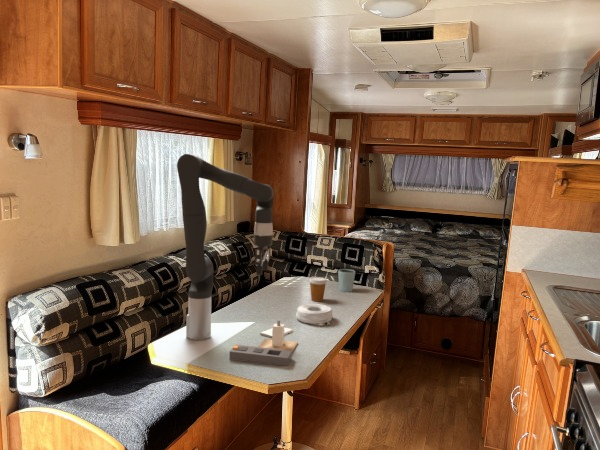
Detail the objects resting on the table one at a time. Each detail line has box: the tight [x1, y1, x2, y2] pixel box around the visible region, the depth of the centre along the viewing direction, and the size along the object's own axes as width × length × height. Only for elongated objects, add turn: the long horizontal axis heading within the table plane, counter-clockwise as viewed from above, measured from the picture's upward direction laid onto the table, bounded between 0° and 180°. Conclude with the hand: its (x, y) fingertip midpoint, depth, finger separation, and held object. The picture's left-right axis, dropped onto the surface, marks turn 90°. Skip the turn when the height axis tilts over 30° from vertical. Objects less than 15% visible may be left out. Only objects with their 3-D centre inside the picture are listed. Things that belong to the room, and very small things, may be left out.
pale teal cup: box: [337, 268, 356, 293], centre depth 276 cm, size 10×10×12 cm
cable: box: [295, 303, 334, 327], centre depth 220 cm, size 18×18×6 cm
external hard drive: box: [259, 327, 294, 339], centre depth 200 cm, size 2×8×12 cm
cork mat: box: [257, 338, 299, 353], centre depth 185 cm, size 14×10×1 cm
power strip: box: [229, 344, 293, 367], centre depth 171 cm, size 22×7×4 cm, turn 78°
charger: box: [271, 319, 285, 347], centre depth 184 cm, size 4×4×10 cm
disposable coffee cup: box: [308, 276, 327, 303], centre depth 252 cm, size 10×10×12 cm
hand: (262, 272), depth 189 cm, fingers open, 8 cm apart
